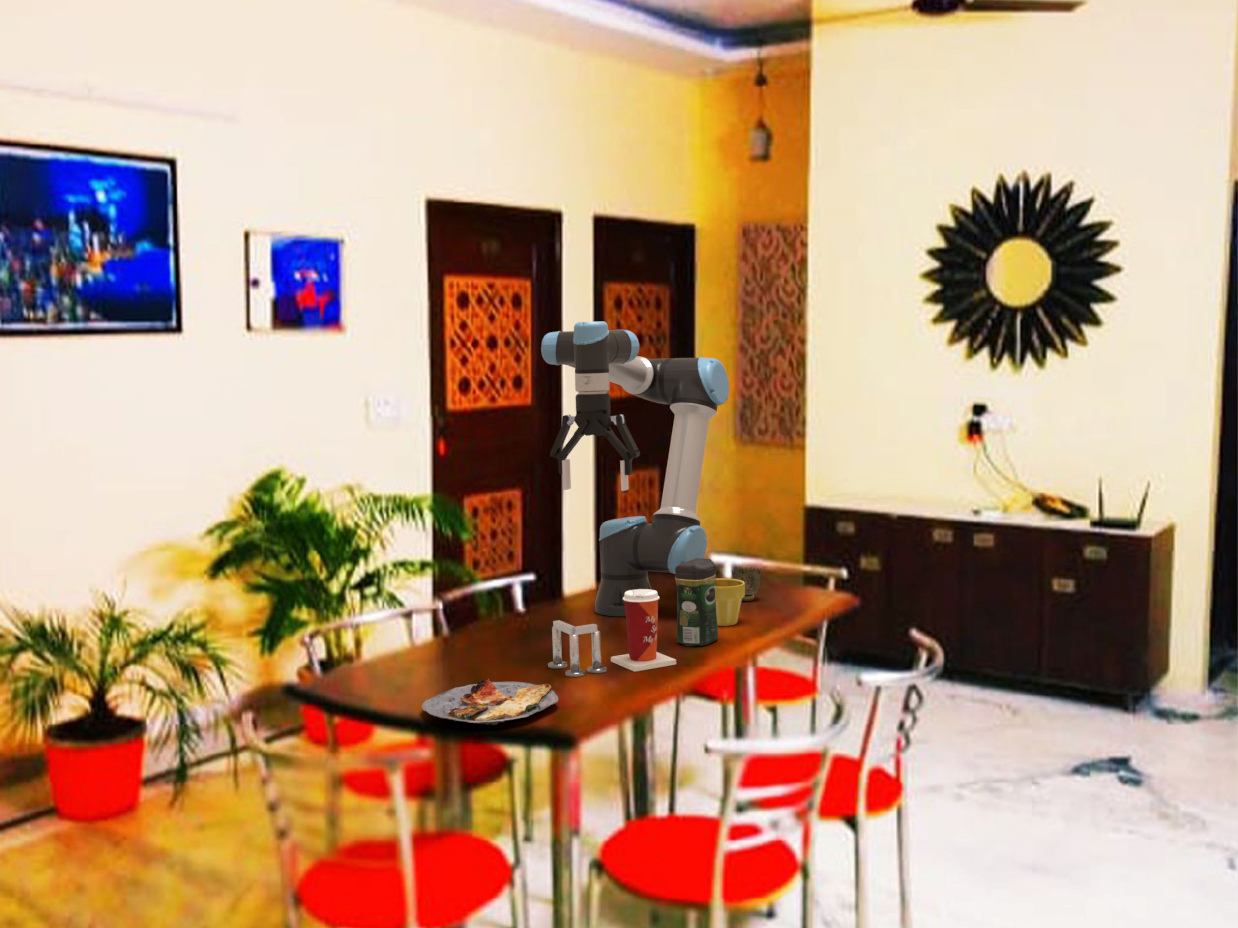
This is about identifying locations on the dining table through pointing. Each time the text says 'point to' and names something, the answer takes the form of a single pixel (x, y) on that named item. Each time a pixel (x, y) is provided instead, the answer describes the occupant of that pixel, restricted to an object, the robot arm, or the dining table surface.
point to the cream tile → (643, 662)
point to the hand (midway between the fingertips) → (595, 489)
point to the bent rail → (575, 648)
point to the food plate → (491, 701)
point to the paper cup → (641, 623)
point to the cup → (748, 581)
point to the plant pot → (728, 600)
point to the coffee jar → (696, 602)
